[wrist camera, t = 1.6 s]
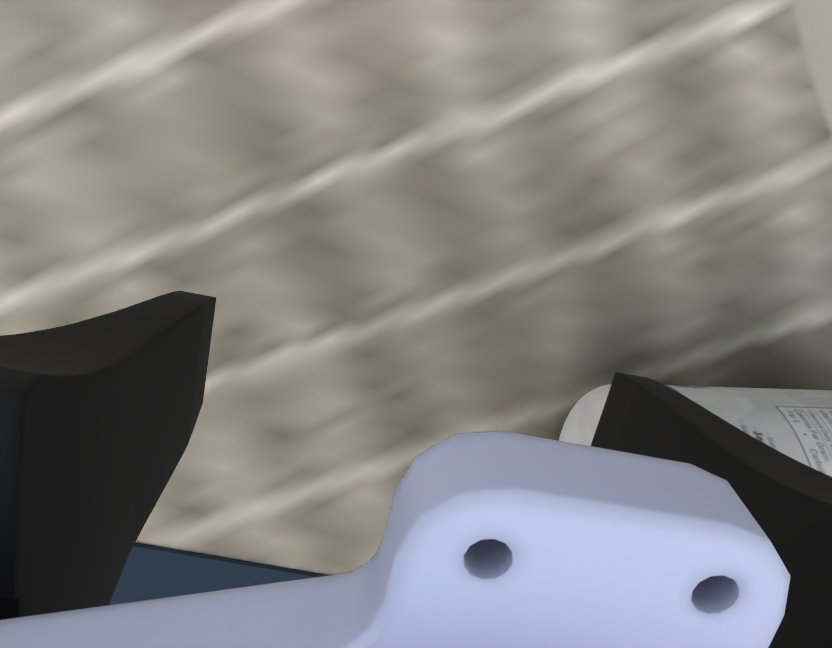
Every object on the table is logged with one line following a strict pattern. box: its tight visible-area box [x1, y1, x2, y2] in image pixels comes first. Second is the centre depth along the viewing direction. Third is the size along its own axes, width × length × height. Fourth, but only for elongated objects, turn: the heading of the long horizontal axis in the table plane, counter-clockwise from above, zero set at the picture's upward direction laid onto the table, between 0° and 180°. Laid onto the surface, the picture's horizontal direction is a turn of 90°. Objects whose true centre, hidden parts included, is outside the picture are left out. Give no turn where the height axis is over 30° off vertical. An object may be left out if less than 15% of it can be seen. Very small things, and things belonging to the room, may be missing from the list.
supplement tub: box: [559, 384, 832, 477], centre depth 22 cm, size 10×10×15 cm
